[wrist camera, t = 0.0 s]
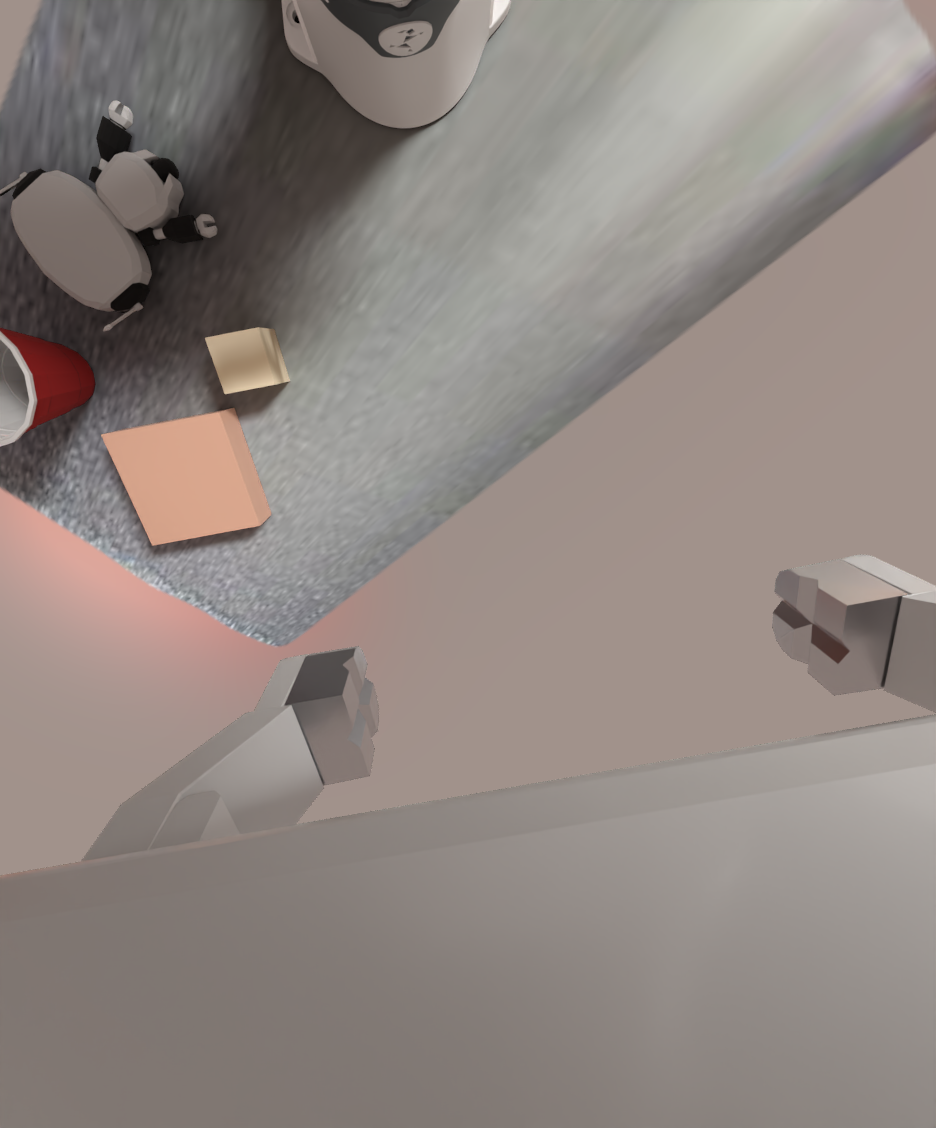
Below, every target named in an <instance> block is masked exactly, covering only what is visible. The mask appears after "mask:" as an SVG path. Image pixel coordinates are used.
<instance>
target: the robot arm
mask: <svg viewBox="0 0 936 1128" xmlns="http://www.w3.org/2000/svg"><path fill="white" fill-rule="evenodd" d="M281 1H282V12H283V23H284V33H285V38H286V41H287V44H288V47H289V49H290V51H291V53H292V54H293V55H294V56H295V57H296V58H297V59H298V60H300V61H301V62H303V63H304V64H306V65H308V66H309V67H311V68H313V69H315V70H317V71H319V72H321V73H322V74H323V75H324V76H325V77H326V78H327V79H328V80H329V81H330V82H331V83H332V85H333V86H334V87H335V88H336V90H337V91H338V92H339V93H340V95H341V96H342V97H343V98H344V99H345V100H346V101H347V102H348V103H349V104H350V105H351V106H352V107H353V108H354V109H355V110H357V111H358V112H359V113H361V114H362V115H363V116H365V117H367V118H368V119H370V120H372V121H374V122H377V123H379V124H382V125H385V126H389V127H394V128H414V127H419V126H423V125H426V124H429V123H431V122H433V121H435V120H437V119H438V118H440V117H442V116H443V115H444V114H446V113H447V112H448V111H449V110H450V109H451V108H453V107H454V106H455V104H456V103H457V102H458V101H459V100H460V99H461V97H462V96H463V95H464V93H465V92H466V90H467V88H468V87H469V85H470V83H471V81H472V79H473V77H474V75H475V72H476V70H477V67H478V64H479V61H480V58H481V55H482V52H483V49H484V47H485V45H486V43H487V41H488V39H489V38H490V36H491V35H492V34H493V33H494V32H495V30H496V29H497V28H498V27H499V26H500V24H501V23H502V22H503V20H504V19H505V17H506V16H507V14H508V12H509V9H510V6H511V0H281ZM296 15H297V16H298V18H299V21H300V23H296V22H295V17H296ZM775 593H776V594H777V596H778V597H779V598H780V599H781V600H782V601H781V602H780V604H779V605H778V607H777V608H776V609H775V610H774V612H773V627H772V628H773V631H774V634H775V637H776V641H777V642H778V644H779V645H780V647H781V648H782V650H783V651H784V652H785V653H786V654H787V655H788V656H789V657H790V658H792V659H795V660H797V661H801V662H803V663H806V664H808V673H809V674H810V675H811V676H812V677H813V678H814V679H815V680H817V681H818V682H819V683H820V684H821V685H822V686H824V687H825V688H826V689H827V690H828V691H829V692H830V693H832V694H833V695H841V694H847V693H854V692H861V691H868V690H875V689H881V688H884V691H886V692H889V693H891V694H893V695H896V696H898V697H900V698H903V699H905V700H907V701H910V702H912V703H914V704H917V705H919V706H921V707H924V708H926V709H928V710H931V711H933V712H935V713H936V586H934V585H932V584H930V583H928V582H926V581H924V580H922V579H919V578H917V577H915V576H913V575H911V574H909V573H907V572H905V571H903V570H901V569H898V568H896V567H894V566H892V565H890V564H888V563H886V562H884V561H881V560H879V559H877V558H875V557H873V556H871V555H861V554H860V555H855V556H851V557H846V558H842V559H837V560H832V561H828V562H822V563H818V564H812V565H808V566H803V567H798V568H793V569H789V570H784V571H781V572H779V575H778V576H777V579H776V583H775ZM366 670H367V662H366V659H365V656H364V653H363V651H362V649H361V648H360V647H359V646H358V647H351V648H345V649H338V650H332V651H326V652H320V653H314V654H309V655H308V654H306V655H300V656H295V657H290V658H285V659H283V660H280V662H279V664H278V666H277V667H276V669H275V671H274V673H273V675H272V677H271V679H270V681H269V683H268V685H267V687H266V689H265V690H264V692H263V694H262V696H261V698H260V700H259V702H258V704H257V706H256V708H255V710H254V711H253V712H248V713H245V714H243V715H242V716H241V717H240V718H238V719H237V720H235V721H234V722H233V723H231V724H230V725H229V726H227V727H226V728H224V729H223V730H222V731H220V732H219V733H218V734H216V735H215V736H214V737H212V738H211V739H209V740H208V741H207V742H205V743H204V744H203V745H201V746H200V747H199V748H197V749H196V750H194V751H193V752H192V753H190V754H189V755H188V756H186V757H185V758H184V759H182V760H181V761H180V762H178V763H177V764H176V765H174V766H173V767H171V768H170V769H169V770H167V771H166V772H165V773H163V774H162V775H161V776H159V777H158V778H157V779H155V780H154V781H152V782H151V783H150V784H148V785H147V786H146V787H144V788H143V789H142V790H140V791H139V792H137V793H136V794H135V795H133V796H132V797H131V798H129V799H128V800H127V801H125V802H124V803H123V804H122V805H120V807H119V808H118V809H117V811H116V812H115V814H114V815H113V816H112V818H111V819H110V821H109V822H108V824H107V825H106V826H105V828H104V829H103V831H102V832H101V834H100V835H99V837H98V838H97V839H96V841H95V842H94V843H93V845H92V846H91V848H90V849H89V851H88V852H87V853H86V855H85V856H84V858H83V859H82V861H81V862H75V863H69V864H63V865H58V866H52V867H46V868H40V869H35V870H29V871H23V872H17V873H11V874H6V875H0V1128H936V714H934V715H929V716H923V717H918V718H912V719H906V720H900V721H894V722H888V723H882V724H876V725H871V726H865V727H859V728H853V729H847V730H842V731H836V732H831V733H824V734H818V735H813V736H807V737H801V738H795V739H790V740H784V741H778V742H772V743H766V744H760V745H755V746H749V747H743V748H737V749H731V750H726V751H720V752H714V753H708V754H702V755H697V756H691V757H685V758H679V759H673V760H668V761H662V762H656V763H650V764H644V765H639V766H633V767H627V768H621V769H615V770H610V771H604V772H598V773H592V774H586V775H580V776H575V777H569V778H563V779H557V780H551V781H546V782H540V783H534V784H528V785H522V786H516V787H511V788H505V789H499V790H493V791H488V792H482V793H476V794H470V795H465V796H458V797H453V798H447V799H441V800H436V801H429V802H424V803H418V804H412V805H406V806H401V807H394V808H388V809H383V810H377V811H371V812H365V813H359V814H354V815H348V816H342V817H336V818H330V819H325V820H319V821H313V822H307V823H302V824H296V823H297V822H298V821H299V819H300V818H301V817H302V816H303V814H304V813H305V812H306V811H307V809H308V808H309V807H310V805H311V804H312V803H313V802H314V800H315V799H316V798H317V796H318V795H319V794H320V793H321V791H322V790H323V789H324V785H329V784H334V783H339V782H344V781H349V780H353V779H358V778H363V777H368V776H370V773H371V767H372V762H373V756H374V750H375V748H374V745H373V742H372V739H371V738H372V737H373V736H374V734H375V733H376V732H377V730H378V724H379V705H378V701H377V695H376V691H375V688H374V685H373V683H372V682H371V681H369V680H368V679H367V678H365V674H366Z"/></svg>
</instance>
